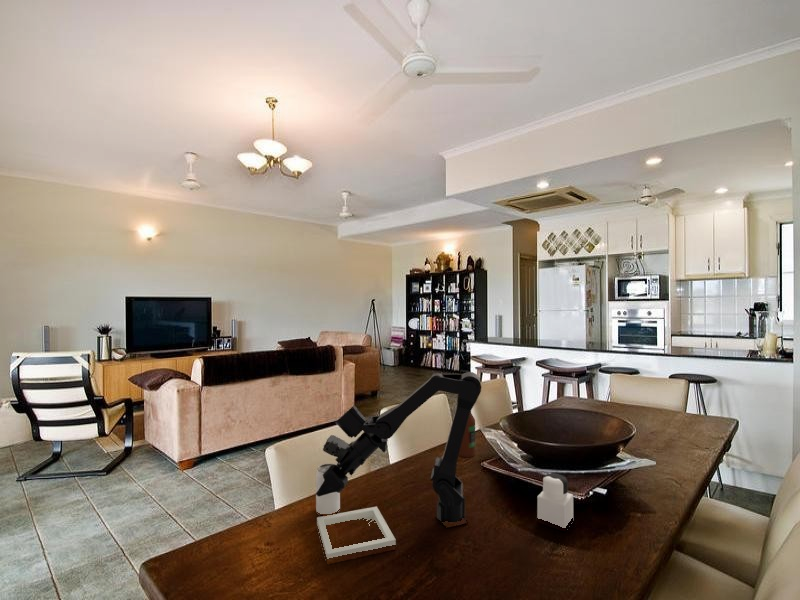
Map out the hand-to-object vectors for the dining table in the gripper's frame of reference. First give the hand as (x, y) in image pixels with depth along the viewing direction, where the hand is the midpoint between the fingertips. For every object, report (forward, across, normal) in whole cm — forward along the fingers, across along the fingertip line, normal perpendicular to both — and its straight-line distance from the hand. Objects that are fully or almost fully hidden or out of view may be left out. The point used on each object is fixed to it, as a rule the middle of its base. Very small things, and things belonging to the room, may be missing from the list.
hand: (323, 486), depth 114 cm
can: (+4, 0, +6) cm, 7 cm away
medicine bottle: (-39, -3, +49) cm, 63 cm away
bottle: (-23, -46, +32) cm, 61 cm away
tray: (-4, +11, +13) cm, 18 cm away
